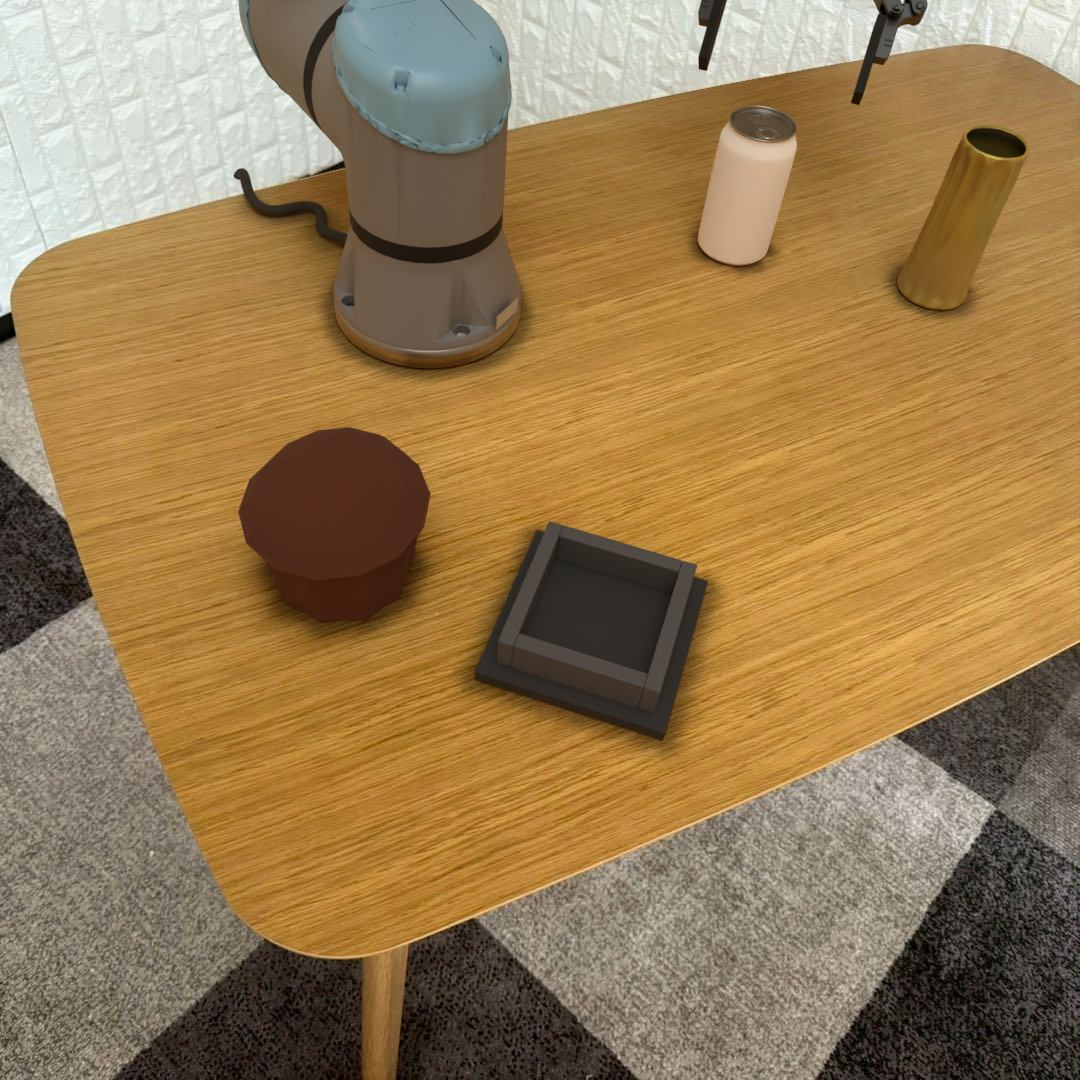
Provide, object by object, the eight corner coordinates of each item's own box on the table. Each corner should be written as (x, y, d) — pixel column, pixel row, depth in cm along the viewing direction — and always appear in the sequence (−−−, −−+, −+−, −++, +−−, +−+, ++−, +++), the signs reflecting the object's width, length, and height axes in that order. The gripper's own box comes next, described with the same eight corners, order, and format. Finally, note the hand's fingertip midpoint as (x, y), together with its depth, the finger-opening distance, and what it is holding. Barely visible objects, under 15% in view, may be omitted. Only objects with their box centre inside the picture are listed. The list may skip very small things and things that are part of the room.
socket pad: (474, 680, 62) (475, 649, 60) (535, 538, 70) (539, 505, 67) (662, 741, 61) (673, 712, 58) (705, 589, 68) (716, 557, 65)
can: (711, 272, 90) (742, 146, 81) (686, 229, 94) (712, 105, 85) (778, 264, 92) (815, 140, 82) (750, 222, 95) (783, 99, 86)
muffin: (360, 671, 62) (348, 574, 54) (218, 593, 65) (186, 490, 57) (463, 543, 69) (465, 440, 61) (330, 477, 72) (316, 371, 64)
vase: (883, 273, 92) (943, 124, 81) (941, 264, 93) (1008, 117, 82) (918, 315, 88) (985, 166, 77) (977, 306, 90) (1052, 158, 79)
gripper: (991, -120, 87) (914, 127, 90) (709, -174, 91) (643, 66, 93) (1016, -174, 80) (932, 97, 83) (708, -230, 84) (637, 32, 86)
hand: (778, 81), depth 88 cm, fingers open, 13 cm apart
